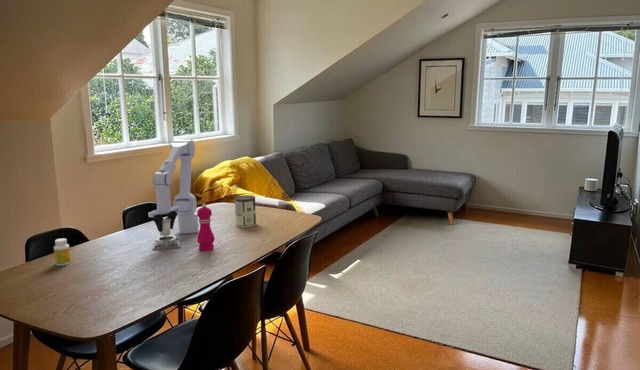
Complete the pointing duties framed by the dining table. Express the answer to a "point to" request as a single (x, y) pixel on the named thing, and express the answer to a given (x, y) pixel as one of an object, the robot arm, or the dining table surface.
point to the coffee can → (245, 211)
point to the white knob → (165, 226)
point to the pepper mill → (205, 229)
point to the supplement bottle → (62, 252)
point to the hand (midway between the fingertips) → (165, 230)
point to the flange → (166, 242)
